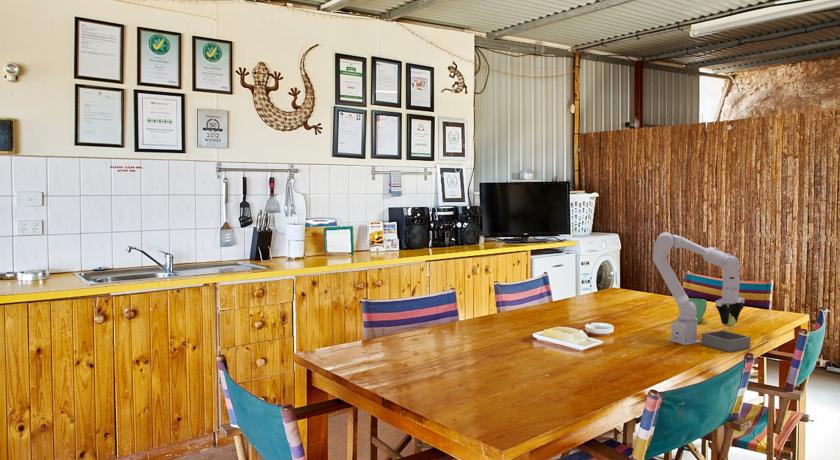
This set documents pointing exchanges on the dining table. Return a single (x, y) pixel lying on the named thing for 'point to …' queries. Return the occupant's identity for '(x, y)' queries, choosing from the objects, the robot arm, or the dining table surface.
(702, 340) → the tub
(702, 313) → the mug
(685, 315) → the robot arm
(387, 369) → the dining table surface
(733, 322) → the lime
